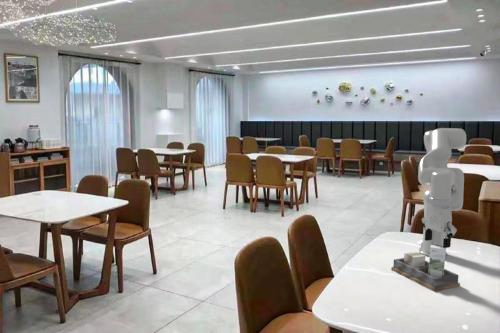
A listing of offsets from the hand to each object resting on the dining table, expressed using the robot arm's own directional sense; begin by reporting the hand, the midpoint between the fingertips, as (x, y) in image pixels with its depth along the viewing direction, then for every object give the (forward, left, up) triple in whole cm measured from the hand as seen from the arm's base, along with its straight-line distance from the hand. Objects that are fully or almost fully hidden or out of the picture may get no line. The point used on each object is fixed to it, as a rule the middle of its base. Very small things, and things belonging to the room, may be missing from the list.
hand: (437, 243), depth 179 cm
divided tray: (-6, 0, -16) cm, 17 cm away
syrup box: (+1, 0, -15) cm, 15 cm away
